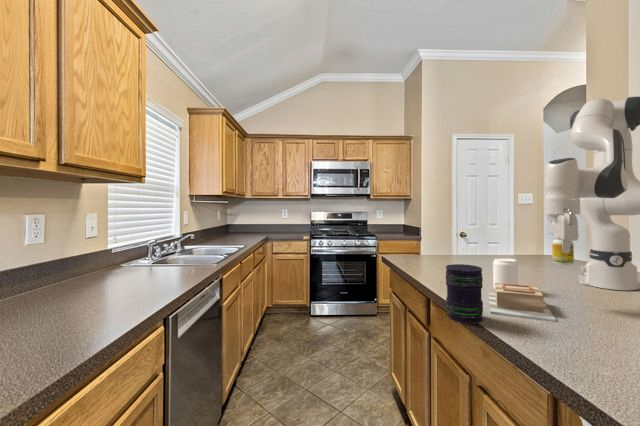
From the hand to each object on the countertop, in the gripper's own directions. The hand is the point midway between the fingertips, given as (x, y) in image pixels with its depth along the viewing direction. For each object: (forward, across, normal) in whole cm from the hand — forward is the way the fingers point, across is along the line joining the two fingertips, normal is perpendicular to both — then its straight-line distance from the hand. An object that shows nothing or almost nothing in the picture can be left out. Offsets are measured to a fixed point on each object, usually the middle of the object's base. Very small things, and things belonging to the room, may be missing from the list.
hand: (562, 251), depth 98 cm
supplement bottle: (+4, 0, 0) cm, 4 cm away
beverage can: (+18, +12, +15) cm, 27 cm away
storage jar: (+17, -24, +28) cm, 41 cm away
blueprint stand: (+17, -6, +13) cm, 23 cm away
